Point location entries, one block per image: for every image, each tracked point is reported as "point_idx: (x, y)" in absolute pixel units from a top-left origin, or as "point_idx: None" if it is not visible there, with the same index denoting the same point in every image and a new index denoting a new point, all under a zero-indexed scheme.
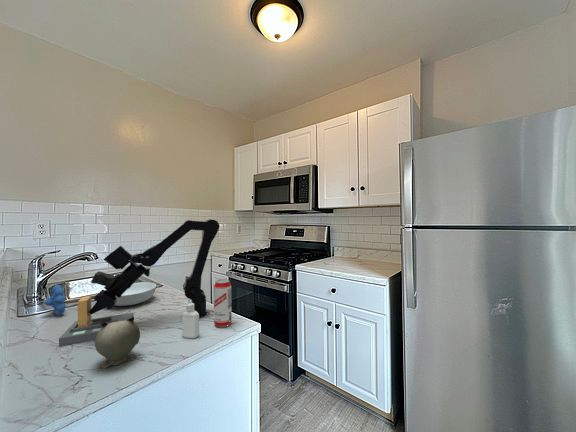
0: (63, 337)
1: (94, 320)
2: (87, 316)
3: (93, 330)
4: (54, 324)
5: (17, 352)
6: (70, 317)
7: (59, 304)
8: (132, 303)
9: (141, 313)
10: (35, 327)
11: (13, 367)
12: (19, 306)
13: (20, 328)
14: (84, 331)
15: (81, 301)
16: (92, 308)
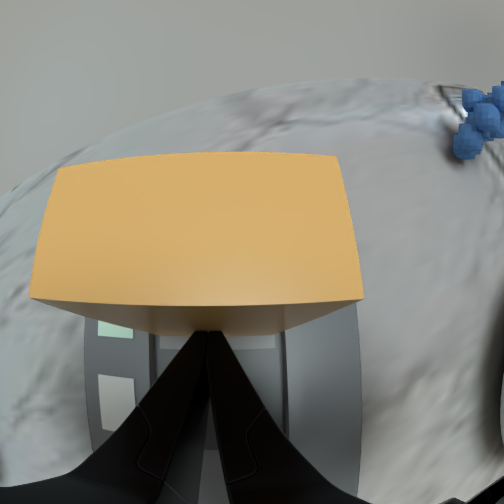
0: None
1: (283, 350)
2: (155, 331)
3: (112, 381)
4: (391, 152)
5: (149, 129)
6: (446, 187)
7: (471, 125)
8: (500, 417)
9: (402, 499)
10: (372, 112)
11: (44, 174)
12: None
13: (369, 88)
14: (117, 333)
15: (51, 219)
16: (165, 372)
